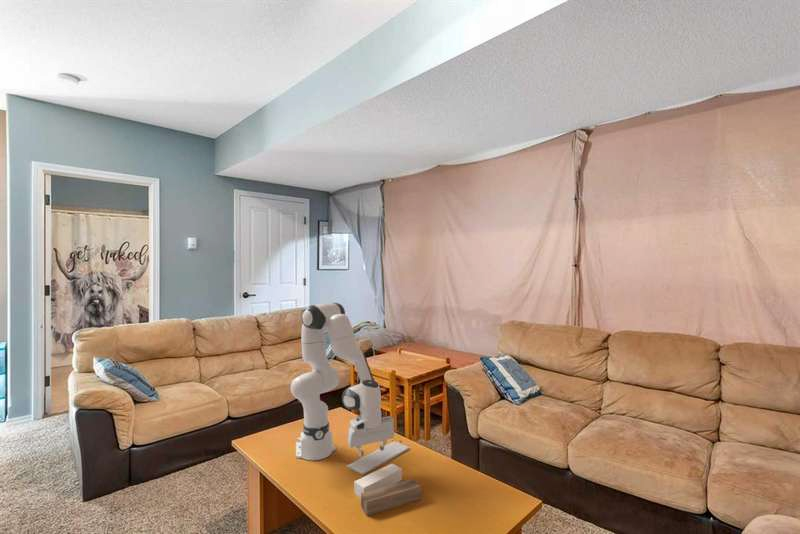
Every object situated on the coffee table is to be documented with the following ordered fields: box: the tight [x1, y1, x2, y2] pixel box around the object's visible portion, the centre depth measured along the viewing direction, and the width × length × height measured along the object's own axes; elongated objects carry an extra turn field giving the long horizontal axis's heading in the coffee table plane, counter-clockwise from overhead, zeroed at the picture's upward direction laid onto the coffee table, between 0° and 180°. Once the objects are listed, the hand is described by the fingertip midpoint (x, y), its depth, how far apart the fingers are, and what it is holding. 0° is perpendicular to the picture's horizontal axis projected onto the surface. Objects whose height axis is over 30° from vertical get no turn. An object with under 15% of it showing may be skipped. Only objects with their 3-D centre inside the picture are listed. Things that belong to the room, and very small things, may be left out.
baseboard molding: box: [345, 438, 410, 476], centre depth 180 cm, size 31×3×12 cm
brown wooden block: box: [360, 478, 422, 517], centre depth 146 cm, size 6×22×5 cm, turn 116°
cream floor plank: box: [353, 463, 403, 499], centre depth 156 cm, size 6×20×5 cm, turn 133°
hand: (371, 452), depth 164 cm, fingers open, 8 cm apart
